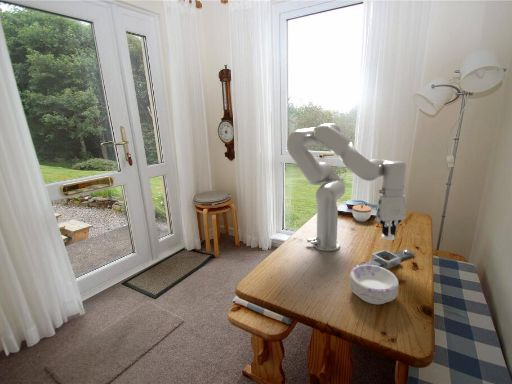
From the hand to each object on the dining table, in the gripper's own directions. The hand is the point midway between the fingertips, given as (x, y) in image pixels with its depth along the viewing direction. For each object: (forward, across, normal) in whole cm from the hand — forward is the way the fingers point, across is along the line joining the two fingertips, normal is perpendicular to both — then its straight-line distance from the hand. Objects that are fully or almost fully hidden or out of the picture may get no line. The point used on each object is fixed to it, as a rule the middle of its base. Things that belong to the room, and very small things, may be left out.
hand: (388, 233), depth 107 cm
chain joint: (+13, 0, 0) cm, 13 cm away
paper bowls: (+14, -16, -20) cm, 29 cm away
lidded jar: (+13, +11, +47) cm, 50 cm away
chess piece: (+2, 0, 0) cm, 2 cm away
